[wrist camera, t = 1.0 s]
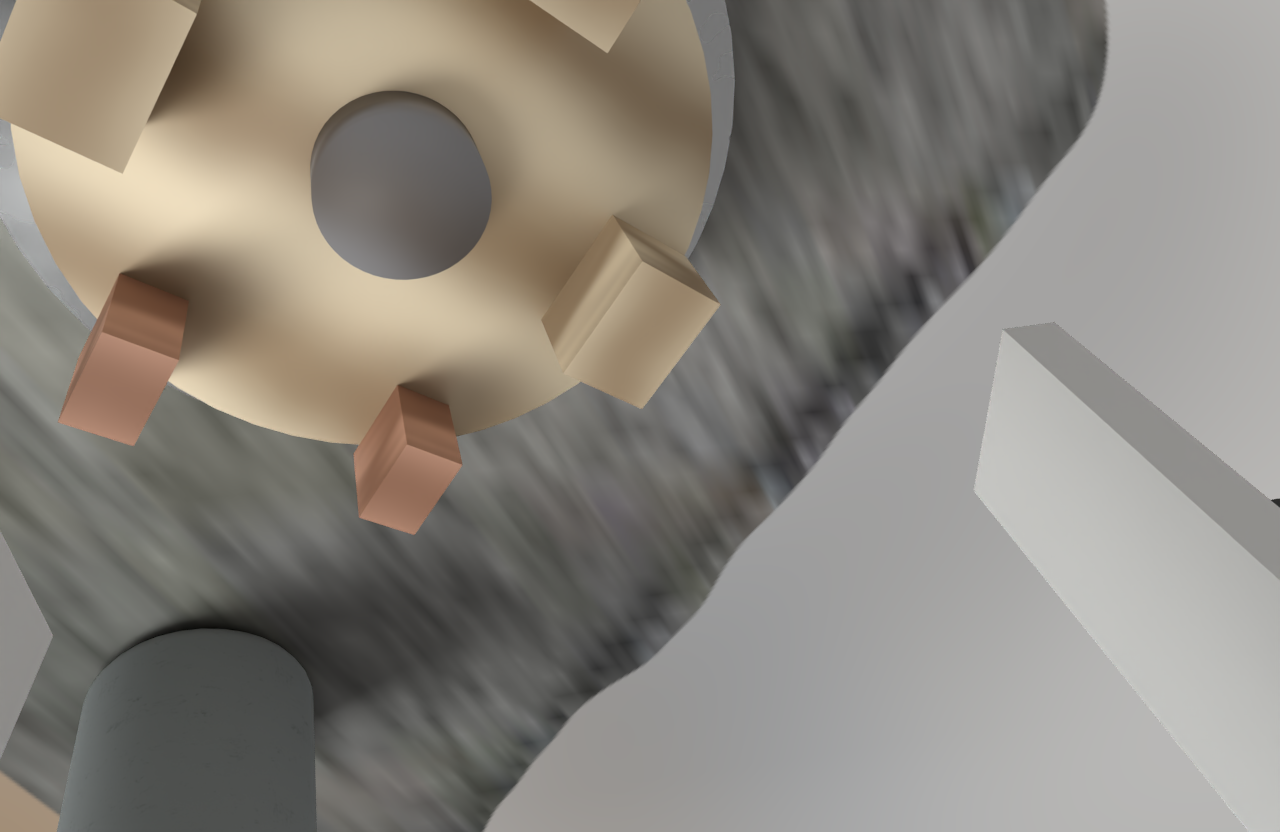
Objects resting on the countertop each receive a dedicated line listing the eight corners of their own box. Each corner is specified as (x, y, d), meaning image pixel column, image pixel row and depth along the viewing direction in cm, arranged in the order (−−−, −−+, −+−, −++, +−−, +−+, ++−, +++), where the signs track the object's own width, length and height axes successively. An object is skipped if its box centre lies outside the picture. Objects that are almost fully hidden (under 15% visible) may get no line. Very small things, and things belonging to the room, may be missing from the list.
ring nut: (207, -429, 23) (185, -466, 18) (794, 37, 34) (884, 96, 29) (-67, 255, 30) (-139, 367, 25) (494, 466, 41) (523, 574, 35)
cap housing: (-230, 58, 28) (-286, 96, 25) (416, -552, 25) (432, -584, 22) (365, 504, 43) (371, 559, 40) (821, 159, 39) (860, 192, 37)
